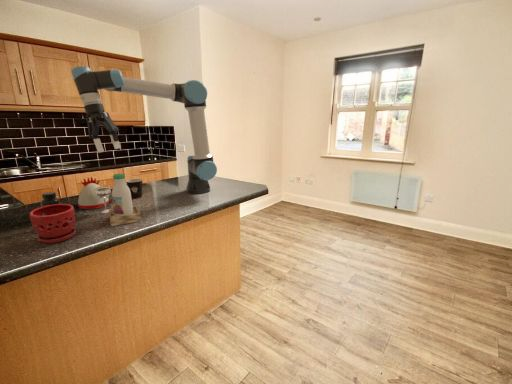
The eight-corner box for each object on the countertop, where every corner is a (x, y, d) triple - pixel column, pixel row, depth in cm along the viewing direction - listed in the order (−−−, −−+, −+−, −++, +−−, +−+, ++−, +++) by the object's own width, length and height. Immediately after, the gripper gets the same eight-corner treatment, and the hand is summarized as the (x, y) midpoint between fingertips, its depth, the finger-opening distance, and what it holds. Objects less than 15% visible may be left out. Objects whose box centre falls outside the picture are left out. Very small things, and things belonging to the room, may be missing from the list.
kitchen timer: (75, 204, 136) (70, 177, 132) (104, 199, 146) (100, 173, 142) (83, 210, 127) (77, 181, 123) (112, 204, 137) (108, 177, 133)
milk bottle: (130, 213, 122) (125, 172, 117) (136, 217, 117) (131, 174, 111) (112, 216, 117) (106, 174, 112) (118, 221, 112) (111, 177, 106)
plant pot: (27, 242, 94) (20, 212, 91) (64, 229, 106) (58, 201, 103) (51, 249, 90) (43, 217, 87) (86, 234, 102) (81, 205, 98)
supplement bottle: (48, 222, 113) (42, 196, 109) (41, 219, 116) (35, 193, 113) (65, 217, 118) (60, 192, 115) (59, 214, 122) (54, 190, 118)
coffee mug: (146, 195, 155) (145, 179, 152) (139, 199, 146) (137, 182, 144) (128, 194, 156) (126, 178, 153) (120, 198, 147) (117, 181, 145)
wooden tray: (137, 212, 125) (136, 206, 124) (141, 220, 116) (140, 213, 115) (109, 217, 119) (108, 210, 118) (111, 226, 110) (110, 218, 109)
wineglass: (99, 209, 129) (95, 186, 125) (114, 208, 131) (111, 185, 128) (97, 214, 123) (93, 190, 119) (113, 212, 125) (109, 189, 122)
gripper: (70, 110, 119) (87, 155, 124) (100, 98, 106) (117, 148, 112) (86, 109, 125) (101, 151, 131) (116, 98, 113) (132, 145, 118)
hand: (109, 150), depth 121 cm, fingers open, 13 cm apart
